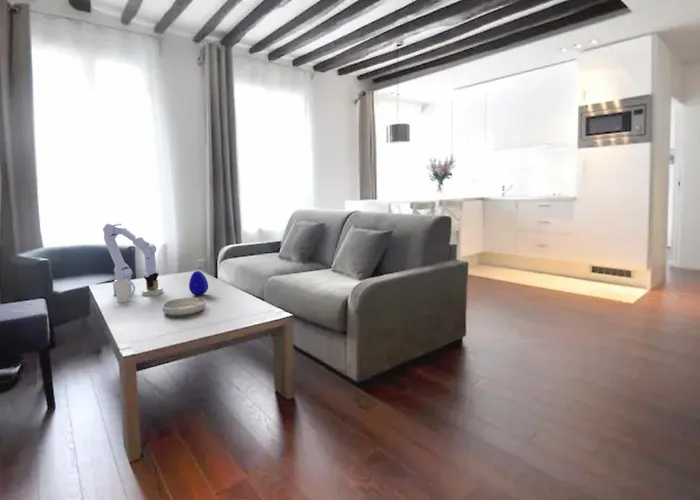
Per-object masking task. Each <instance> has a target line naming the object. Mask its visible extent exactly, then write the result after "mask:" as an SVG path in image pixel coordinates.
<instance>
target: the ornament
mask: <svg viewBox="0 0 700 500" xmlns="http://www.w3.org/2000/svg"><path fill="white" fill-rule="evenodd" d="M188 287H189V291H190V292H191V294H192V295H193V296H198V295H199V296H202V295H204V294H206V292H208V289H209V282H208V280H207V277H206V276H205V275H204V273H203V272H201V271H199V270H196V271H194V272H192V274H191V276H190V279H189V282H188Z"/></svg>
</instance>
